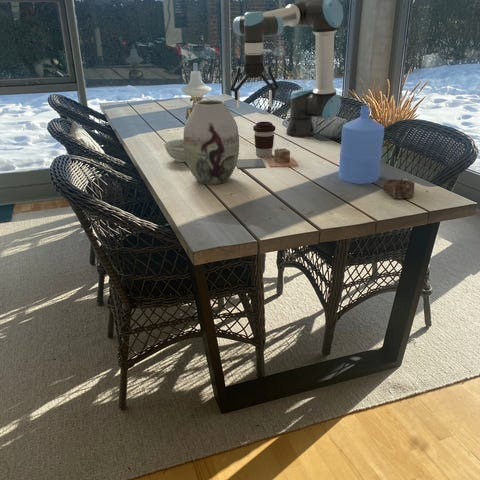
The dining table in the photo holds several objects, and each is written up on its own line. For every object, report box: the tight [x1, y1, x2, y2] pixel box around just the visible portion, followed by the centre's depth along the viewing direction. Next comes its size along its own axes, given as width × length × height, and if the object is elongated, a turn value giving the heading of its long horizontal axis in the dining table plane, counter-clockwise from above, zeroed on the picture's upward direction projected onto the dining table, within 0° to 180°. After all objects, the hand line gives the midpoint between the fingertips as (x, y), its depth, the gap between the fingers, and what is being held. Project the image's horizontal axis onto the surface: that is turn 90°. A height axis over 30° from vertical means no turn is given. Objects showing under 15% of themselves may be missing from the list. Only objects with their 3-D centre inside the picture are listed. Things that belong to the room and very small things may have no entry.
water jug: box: [337, 105, 385, 185], centre depth 186 cm, size 16×16×28 cm
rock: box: [382, 178, 415, 200], centre depth 173 cm, size 13×8×6 cm, turn 3°
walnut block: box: [273, 148, 291, 164], centre depth 211 cm, size 5×5×5 cm
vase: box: [182, 99, 240, 186], centre depth 186 cm, size 21×21×30 cm
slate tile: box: [236, 157, 267, 170], centre depth 211 cm, size 12×12×1 cm
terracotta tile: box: [265, 156, 299, 168], centre depth 212 cm, size 12×12×1 cm
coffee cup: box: [252, 121, 276, 158], centre depth 221 cm, size 10×10×15 cm
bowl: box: [163, 138, 187, 163], centre depth 217 cm, size 16×16×8 cm
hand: (254, 107), depth 207 cm, fingers open, 13 cm apart
